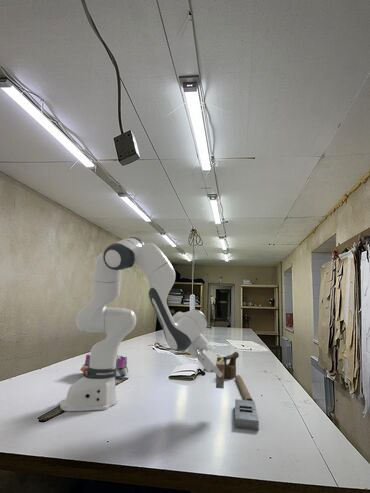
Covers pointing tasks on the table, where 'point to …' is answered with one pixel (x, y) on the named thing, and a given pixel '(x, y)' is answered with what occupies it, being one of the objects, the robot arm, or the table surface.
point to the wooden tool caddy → (230, 366)
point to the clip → (221, 379)
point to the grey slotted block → (246, 415)
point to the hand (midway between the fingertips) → (221, 373)
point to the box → (218, 360)
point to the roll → (243, 388)
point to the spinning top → (120, 364)
